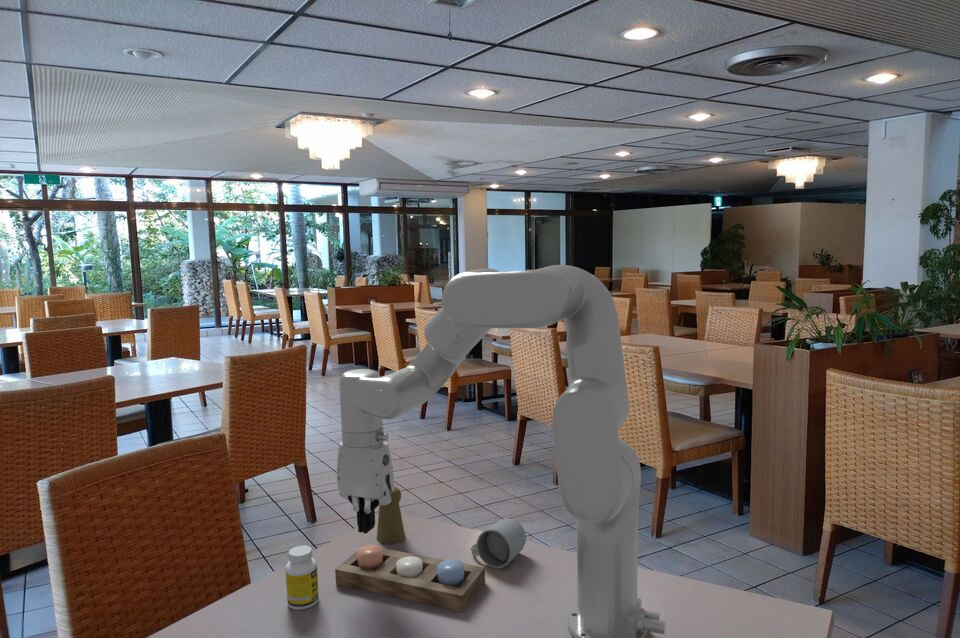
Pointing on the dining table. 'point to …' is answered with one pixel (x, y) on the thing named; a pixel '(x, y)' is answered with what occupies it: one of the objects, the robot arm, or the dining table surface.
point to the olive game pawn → (390, 520)
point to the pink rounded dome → (370, 556)
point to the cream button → (409, 567)
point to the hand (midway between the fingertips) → (366, 529)
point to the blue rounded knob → (450, 572)
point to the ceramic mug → (500, 543)
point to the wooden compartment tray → (412, 581)
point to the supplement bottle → (301, 578)
